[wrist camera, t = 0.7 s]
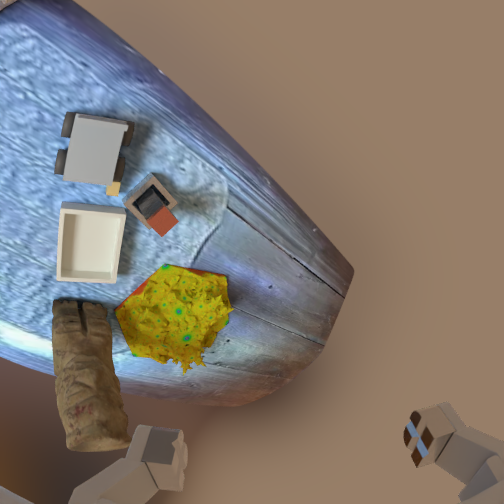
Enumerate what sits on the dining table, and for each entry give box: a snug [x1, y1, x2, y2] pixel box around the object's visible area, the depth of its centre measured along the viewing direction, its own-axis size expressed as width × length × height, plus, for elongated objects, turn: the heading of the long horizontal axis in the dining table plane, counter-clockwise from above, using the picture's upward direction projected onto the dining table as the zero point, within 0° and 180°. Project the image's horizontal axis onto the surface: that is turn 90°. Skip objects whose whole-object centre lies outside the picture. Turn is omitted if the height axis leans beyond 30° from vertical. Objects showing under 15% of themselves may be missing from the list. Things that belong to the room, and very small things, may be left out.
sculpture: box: [52, 299, 132, 452], centre depth 44 cm, size 12×9×30 cm
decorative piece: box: [114, 264, 234, 375], centre depth 66 cm, size 26×8×30 cm
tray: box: [57, 202, 126, 283], centre depth 48 cm, size 14×12×3 cm
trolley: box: [54, 112, 134, 186], centre depth 38 cm, size 10×11×12 cm
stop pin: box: [136, 187, 179, 237], centre depth 48 cm, size 4×4×11 cm
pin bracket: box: [122, 173, 178, 230], centre depth 51 cm, size 7×7×2 cm
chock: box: [106, 181, 121, 196], centre depth 47 cm, size 2×2×2 cm
